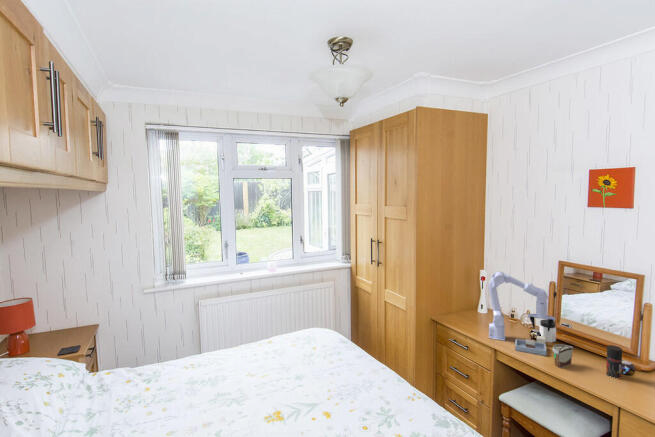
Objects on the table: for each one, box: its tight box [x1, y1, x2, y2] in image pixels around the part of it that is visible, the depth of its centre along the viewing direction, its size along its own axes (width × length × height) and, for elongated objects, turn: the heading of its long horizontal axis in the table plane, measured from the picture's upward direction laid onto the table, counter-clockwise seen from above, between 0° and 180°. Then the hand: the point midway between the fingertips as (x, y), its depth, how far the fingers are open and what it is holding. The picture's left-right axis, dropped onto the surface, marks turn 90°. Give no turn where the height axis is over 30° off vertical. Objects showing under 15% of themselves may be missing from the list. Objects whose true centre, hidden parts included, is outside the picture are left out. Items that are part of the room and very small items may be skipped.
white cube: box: [536, 335, 546, 345], centre depth 210 cm, size 4×4×4 cm
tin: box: [525, 338, 536, 349], centre depth 204 cm, size 5×5×4 cm
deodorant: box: [605, 344, 623, 379], centre depth 173 cm, size 6×6×15 cm
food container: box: [551, 343, 574, 369], centre depth 186 cm, size 12×6×10 cm, turn 111°
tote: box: [514, 338, 547, 357], centre depth 204 cm, size 16×11×3 cm
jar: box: [539, 319, 557, 343], centre depth 216 cm, size 9×8×12 cm
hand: (541, 329), depth 210 cm, fingers open, 7 cm apart
